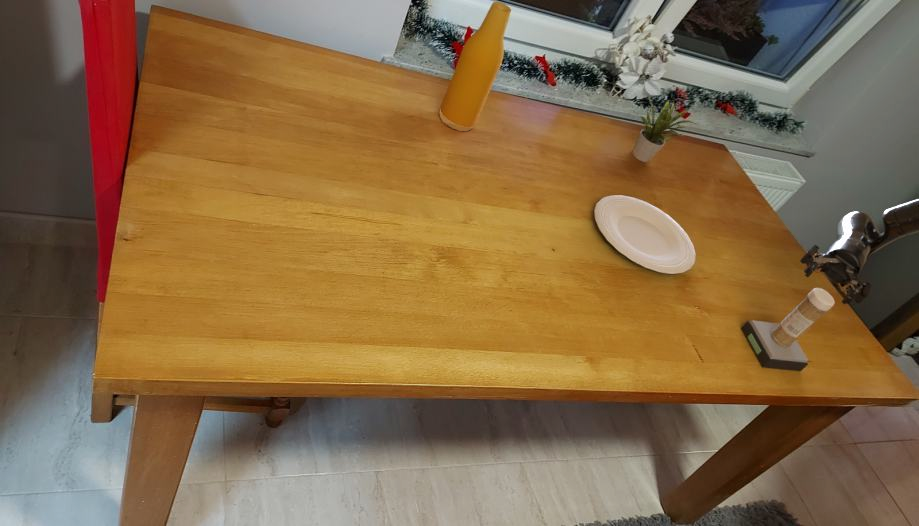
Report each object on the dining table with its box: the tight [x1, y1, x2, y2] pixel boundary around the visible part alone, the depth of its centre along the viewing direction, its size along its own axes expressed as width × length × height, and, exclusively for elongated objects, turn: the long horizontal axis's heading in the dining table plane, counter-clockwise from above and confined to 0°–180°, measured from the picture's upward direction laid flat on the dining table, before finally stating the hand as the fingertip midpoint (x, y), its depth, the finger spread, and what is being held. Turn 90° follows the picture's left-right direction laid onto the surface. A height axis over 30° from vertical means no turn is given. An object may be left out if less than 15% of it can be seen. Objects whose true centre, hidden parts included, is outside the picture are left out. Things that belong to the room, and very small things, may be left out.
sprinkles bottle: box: [771, 287, 836, 347], centre depth 134 cm, size 5×5×14 cm
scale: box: [740, 319, 809, 372], centre depth 139 cm, size 10×10×3 cm
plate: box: [593, 194, 697, 275], centre depth 152 cm, size 25×25×2 cm
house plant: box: [631, 96, 697, 163], centre depth 175 cm, size 14×14×16 cm
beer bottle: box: [439, 1, 512, 127], centre depth 152 cm, size 9×9×29 cm
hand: (827, 286), depth 138 cm, fingers open, 8 cm apart
